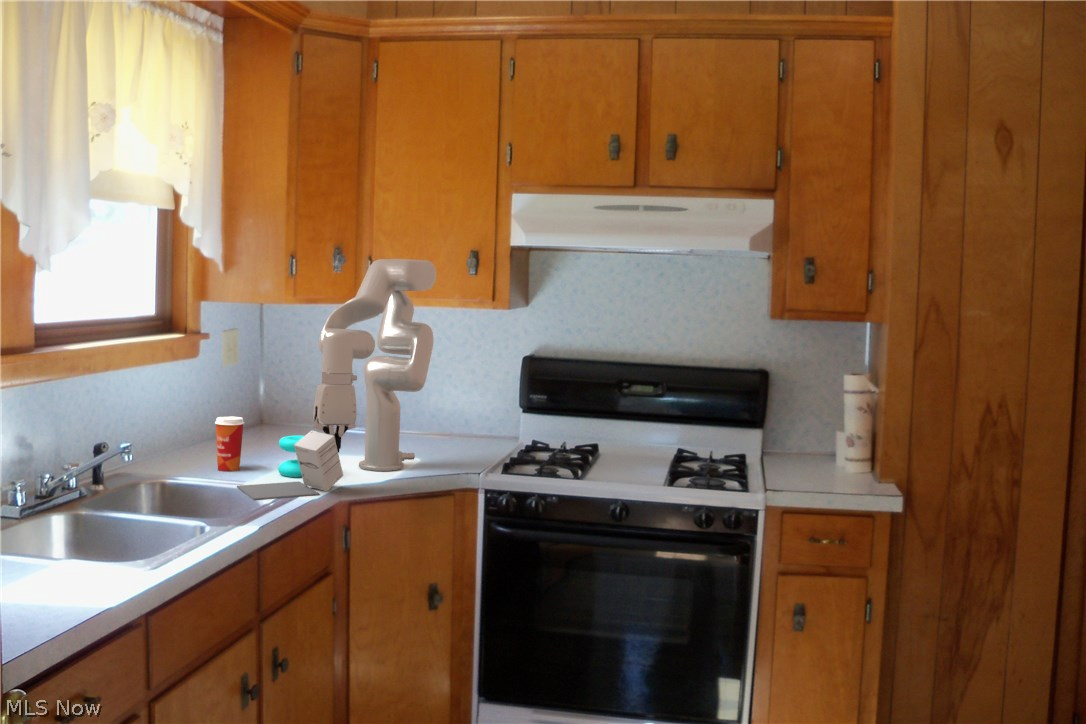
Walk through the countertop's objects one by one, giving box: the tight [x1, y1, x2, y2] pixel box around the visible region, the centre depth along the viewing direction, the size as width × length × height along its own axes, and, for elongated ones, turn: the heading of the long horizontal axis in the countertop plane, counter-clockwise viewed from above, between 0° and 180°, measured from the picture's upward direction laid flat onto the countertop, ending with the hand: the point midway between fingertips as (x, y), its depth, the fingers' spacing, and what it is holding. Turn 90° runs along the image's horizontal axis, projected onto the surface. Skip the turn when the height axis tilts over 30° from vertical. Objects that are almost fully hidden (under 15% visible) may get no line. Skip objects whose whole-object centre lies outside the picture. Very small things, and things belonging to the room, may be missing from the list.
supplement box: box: [294, 429, 344, 492], centre depth 247 cm, size 7×7×13 cm
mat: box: [236, 481, 320, 501], centre depth 244 cm, size 16×15×1 cm
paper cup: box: [214, 415, 245, 472], centre depth 267 cm, size 8×8×14 cm
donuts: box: [277, 434, 305, 478], centre depth 265 cm, size 10×10×10 cm
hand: (333, 451), depth 251 cm, fingers closed
